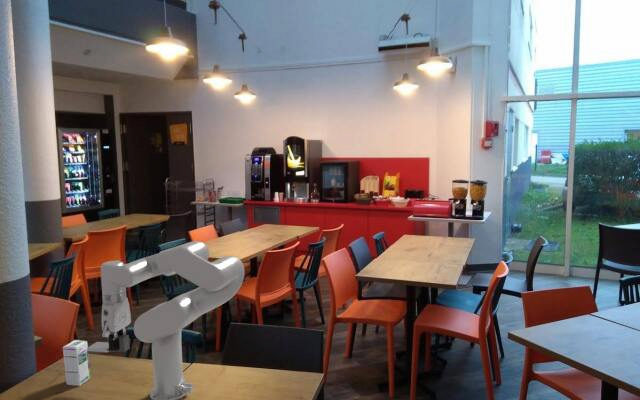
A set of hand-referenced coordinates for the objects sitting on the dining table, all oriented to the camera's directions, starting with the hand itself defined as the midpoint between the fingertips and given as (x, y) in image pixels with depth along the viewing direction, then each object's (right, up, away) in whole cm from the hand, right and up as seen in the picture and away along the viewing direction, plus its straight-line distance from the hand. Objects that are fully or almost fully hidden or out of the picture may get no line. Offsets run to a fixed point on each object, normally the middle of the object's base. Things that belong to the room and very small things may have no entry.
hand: (117, 347), depth 162 cm
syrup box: (-16, -14, +5) cm, 22 cm away
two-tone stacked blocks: (-3, -1, +1) cm, 3 cm away
